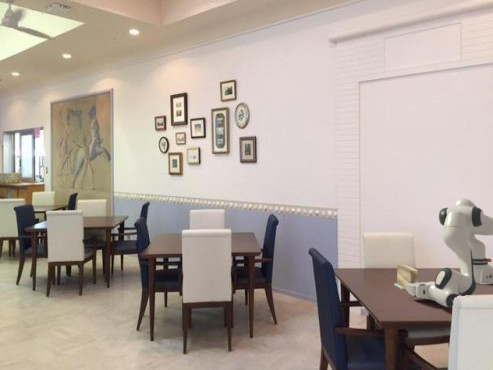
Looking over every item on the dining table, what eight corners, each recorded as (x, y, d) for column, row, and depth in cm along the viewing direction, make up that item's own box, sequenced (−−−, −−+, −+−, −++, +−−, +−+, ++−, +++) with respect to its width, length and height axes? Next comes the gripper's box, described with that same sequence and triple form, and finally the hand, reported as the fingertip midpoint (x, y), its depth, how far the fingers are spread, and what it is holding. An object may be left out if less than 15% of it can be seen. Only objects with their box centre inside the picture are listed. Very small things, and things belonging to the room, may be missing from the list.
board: (404, 284, 242) (404, 264, 242) (417, 292, 229) (418, 270, 228) (397, 285, 242) (397, 265, 241) (410, 292, 228) (410, 270, 227)
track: (406, 284, 243) (406, 282, 243) (415, 288, 234) (415, 287, 234) (394, 285, 242) (394, 283, 242) (402, 289, 233) (402, 287, 233)
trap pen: (421, 292, 228) (421, 290, 228) (427, 295, 222) (427, 293, 222) (408, 292, 227) (408, 291, 227) (414, 296, 221) (414, 294, 221)
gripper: (452, 283, 212) (435, 276, 226) (415, 285, 209) (400, 278, 223) (451, 295, 213) (435, 287, 226) (415, 298, 209) (400, 290, 223)
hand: (418, 283), depth 225 cm, fingers closed
